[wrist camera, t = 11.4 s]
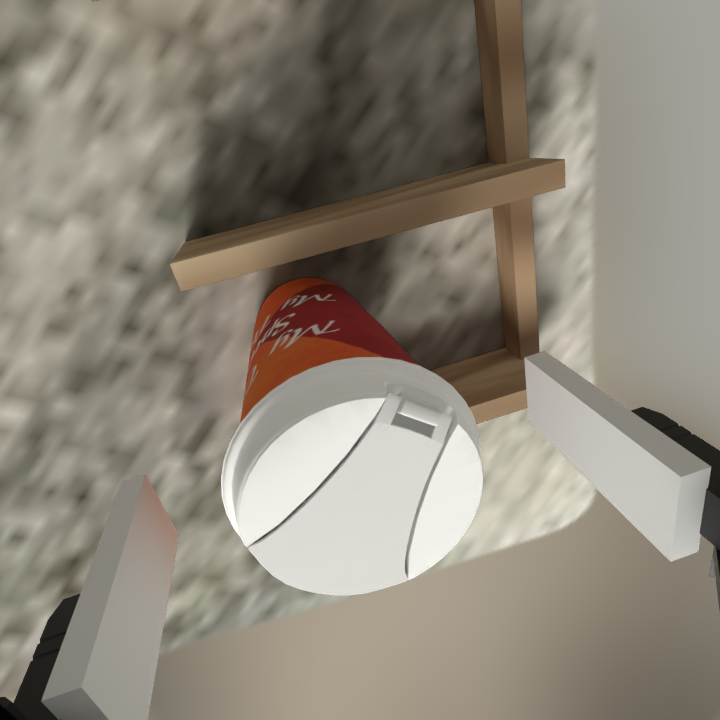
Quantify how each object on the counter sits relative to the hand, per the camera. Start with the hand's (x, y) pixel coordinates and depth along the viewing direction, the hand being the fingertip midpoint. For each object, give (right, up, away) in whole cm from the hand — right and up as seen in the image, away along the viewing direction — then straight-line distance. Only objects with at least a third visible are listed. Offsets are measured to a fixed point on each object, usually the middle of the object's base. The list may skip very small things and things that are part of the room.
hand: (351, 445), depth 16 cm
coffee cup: (-3, +5, +11) cm, 12 cm away
